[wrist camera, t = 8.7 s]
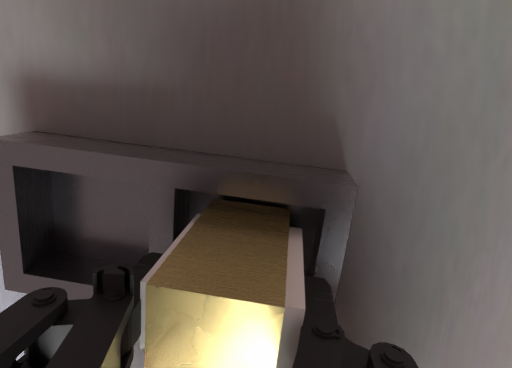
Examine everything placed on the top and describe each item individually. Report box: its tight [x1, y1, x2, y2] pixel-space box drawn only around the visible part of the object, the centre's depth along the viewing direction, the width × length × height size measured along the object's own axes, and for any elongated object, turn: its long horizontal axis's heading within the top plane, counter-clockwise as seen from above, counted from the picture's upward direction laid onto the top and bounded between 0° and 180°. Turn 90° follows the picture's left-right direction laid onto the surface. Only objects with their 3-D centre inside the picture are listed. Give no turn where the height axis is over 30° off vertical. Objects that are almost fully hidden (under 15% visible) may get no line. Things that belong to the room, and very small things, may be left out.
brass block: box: [145, 199, 290, 368], centre depth 14 cm, size 4×4×8 cm
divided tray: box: [0, 131, 358, 305], centre depth 17 cm, size 8×18×3 cm, turn 84°
